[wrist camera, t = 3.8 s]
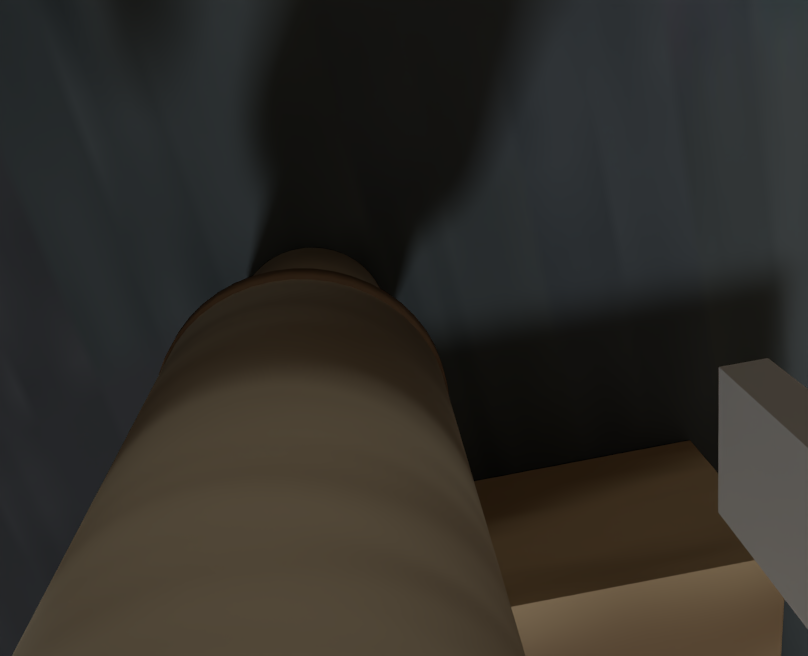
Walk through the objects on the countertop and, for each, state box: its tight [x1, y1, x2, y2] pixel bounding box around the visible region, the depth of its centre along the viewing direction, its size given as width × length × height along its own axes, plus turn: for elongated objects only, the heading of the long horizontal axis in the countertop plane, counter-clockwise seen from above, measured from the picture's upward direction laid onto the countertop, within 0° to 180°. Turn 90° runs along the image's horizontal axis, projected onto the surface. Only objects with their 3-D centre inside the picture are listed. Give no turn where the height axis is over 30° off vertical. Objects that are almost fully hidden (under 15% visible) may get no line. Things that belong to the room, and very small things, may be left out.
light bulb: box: [12, 248, 525, 656], centre depth 12 cm, size 6×6×14 cm
